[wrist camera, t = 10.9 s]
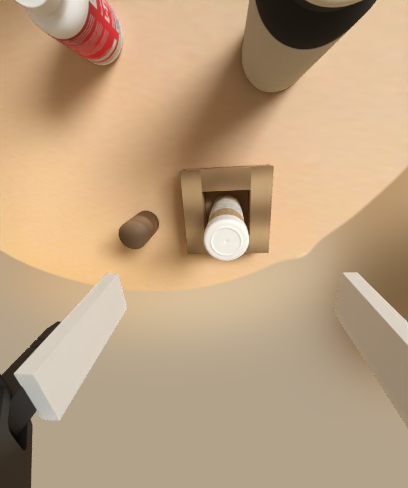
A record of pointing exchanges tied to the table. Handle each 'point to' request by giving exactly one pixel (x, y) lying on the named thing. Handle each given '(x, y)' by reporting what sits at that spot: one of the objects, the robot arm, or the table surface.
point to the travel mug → (293, 37)
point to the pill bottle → (80, 26)
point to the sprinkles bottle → (226, 229)
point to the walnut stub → (138, 230)
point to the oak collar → (226, 179)
